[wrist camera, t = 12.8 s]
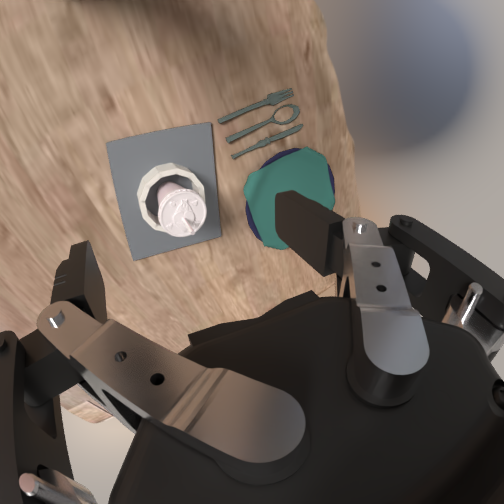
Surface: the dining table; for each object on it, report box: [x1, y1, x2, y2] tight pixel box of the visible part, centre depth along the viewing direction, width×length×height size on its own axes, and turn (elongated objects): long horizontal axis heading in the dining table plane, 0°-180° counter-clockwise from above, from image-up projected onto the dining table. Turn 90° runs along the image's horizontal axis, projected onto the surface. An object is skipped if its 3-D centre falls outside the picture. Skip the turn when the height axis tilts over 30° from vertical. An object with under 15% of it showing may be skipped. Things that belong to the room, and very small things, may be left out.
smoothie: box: [157, 181, 207, 237], centre depth 39 cm, size 6×6×14 cm
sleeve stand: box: [106, 122, 221, 261], centre depth 43 cm, size 20×16×5 cm
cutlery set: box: [218, 88, 335, 250], centre depth 52 cm, size 20×30×2 cm, turn 19°
